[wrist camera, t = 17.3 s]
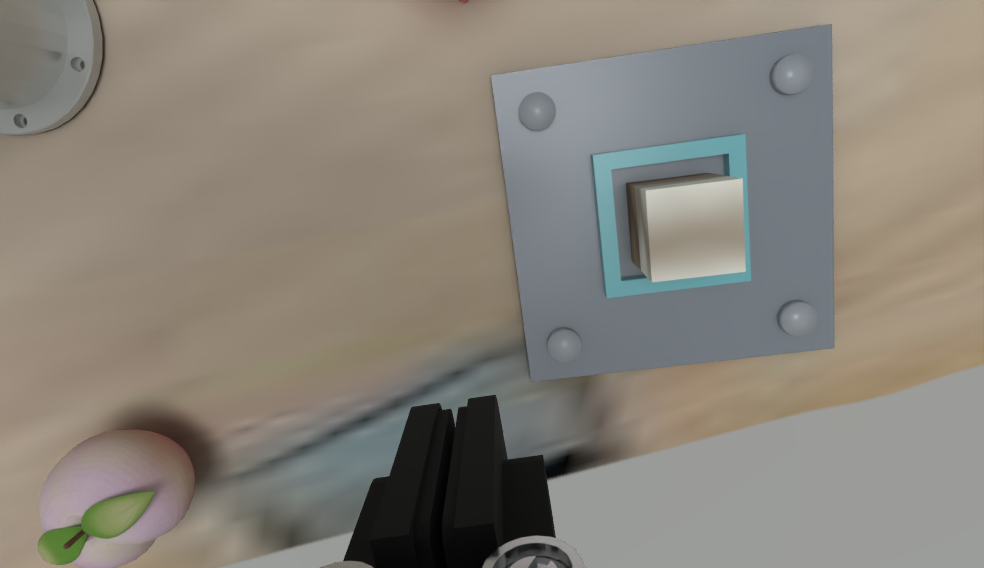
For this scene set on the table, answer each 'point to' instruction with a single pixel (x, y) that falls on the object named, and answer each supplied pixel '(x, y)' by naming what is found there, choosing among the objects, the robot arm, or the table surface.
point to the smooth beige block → (687, 226)
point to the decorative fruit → (113, 498)
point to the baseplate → (662, 154)
